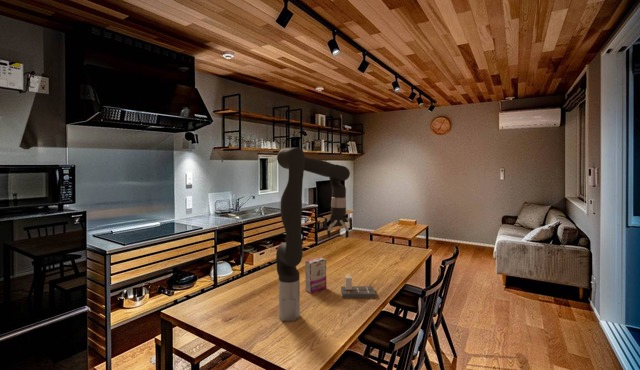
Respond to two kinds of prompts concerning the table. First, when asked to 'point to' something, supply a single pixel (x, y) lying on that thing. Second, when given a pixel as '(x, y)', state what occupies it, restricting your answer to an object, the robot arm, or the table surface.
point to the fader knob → (348, 282)
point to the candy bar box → (315, 274)
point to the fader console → (358, 292)
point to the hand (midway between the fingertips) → (337, 238)
